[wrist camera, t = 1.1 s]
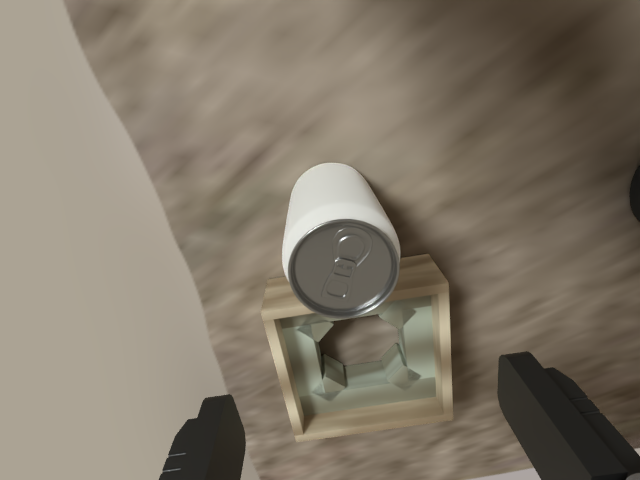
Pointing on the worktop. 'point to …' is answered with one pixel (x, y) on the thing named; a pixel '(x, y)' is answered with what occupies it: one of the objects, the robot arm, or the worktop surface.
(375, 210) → the can
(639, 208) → the pen holder
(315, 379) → the bore box
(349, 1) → the worktop surface
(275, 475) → the worktop surface
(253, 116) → the worktop surface
